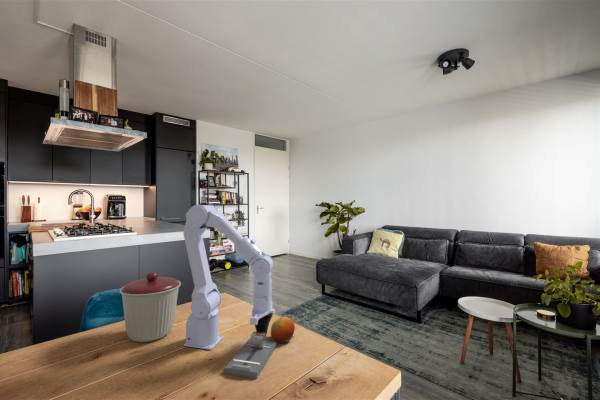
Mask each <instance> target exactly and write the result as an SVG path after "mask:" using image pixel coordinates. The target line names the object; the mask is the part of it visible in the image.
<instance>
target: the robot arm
mask: <svg viewBox="0 0 600 400" xmlns="http://www.w3.org/2000/svg"><path fill="white" fill-rule="evenodd" d="M185 217H186V218H185V219H186V220H185V224H184V228H183V239H184V242H185V247H186V252H187V257H188V262H189V267H190V271H191V275H192V280H193V281H192V282H193V286H194V288H193V290H192V294H191V306H190V311H191V313H190V314H189V316H188V317H187V320H186V324H185V342H184V344H183V345H184V347H190V348H195V349H202V350H212V349H213V348H214V347H216V346H217V344H219V343H220V342H221V341H222V340H224V335H219V320H220V319H219V311H220V310H219V306H220V305H221V304H222V301H223V298H222V294H221V293H220V291H219V289H218V287H217V284H216V283H215V282H213V279H212V275H211V271H210V265H209V262H208V256H207V251H206V248H205V247H206V246H205V242H204V238H203V234H204V233H205V231H206V230H207V229H208V227H210V228H216V229H218V231H220V232H221V233H222V234H223V235H224V236H225V237H226V238H227V239H228V240H230V241H231V242H232V243H233V244H234V245H235V252H236V253H237V254H238V255H239V256H240V257H241V258H242V260H244V261H245V263H247V264H248V265H249V266H250V270H251V273H252V274H253V288H252V289H253V290H252V291H253V293H252V295H253V297H252V300H253V301H252V302H253V304H252V311H251V316H250V317H249V320H250V321H249V325H250V326H251V325H253V326H254V327H255V331H257V332H265V333H266V336H267V335H268V329H269V325H270V322H271V320H272V318H273V314H274V313H275V312H276V309H275V308H273V307H274V306H273V305H274V303H273V302H274V301H273V300H272V298H273V297H272V293H273V292H272V291H273V290H272V289H273V288H272V287H273V285H272V284H273V281H272V277H273V276H272V269H273V268H274V259H273V258H272V257H271V255H270V254H267V253H266V251H264V250H263V251H262V250H261V248H259V247H258V246H257V244H256V241H255V240H254V239H251V238H249V237H243V236H242V235H241V233H240V232H239V230H237V229H236V227H235V226H234V225H233V224H232V223H231V222H230V220H229V219H228V218H227V217H226V216H225V215H224V213H223V212H222V211H221V210H219V209H218V207H216V206H215V205H214V204H194V205H193V206H191V207H190V208H189V210H187V212H186V214H185Z"/></svg>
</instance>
